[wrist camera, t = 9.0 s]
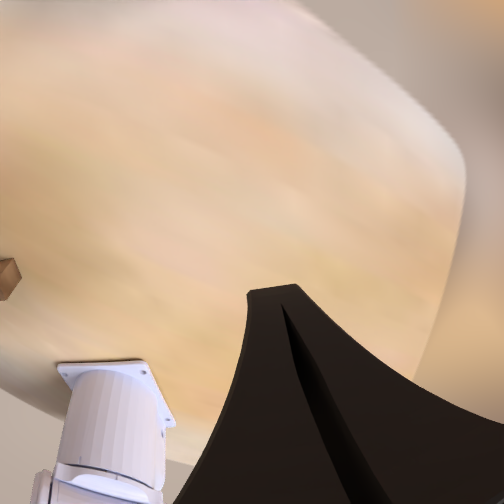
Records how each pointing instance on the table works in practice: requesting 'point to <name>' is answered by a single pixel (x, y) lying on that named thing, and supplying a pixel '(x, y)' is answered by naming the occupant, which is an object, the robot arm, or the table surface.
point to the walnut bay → (8, 278)
